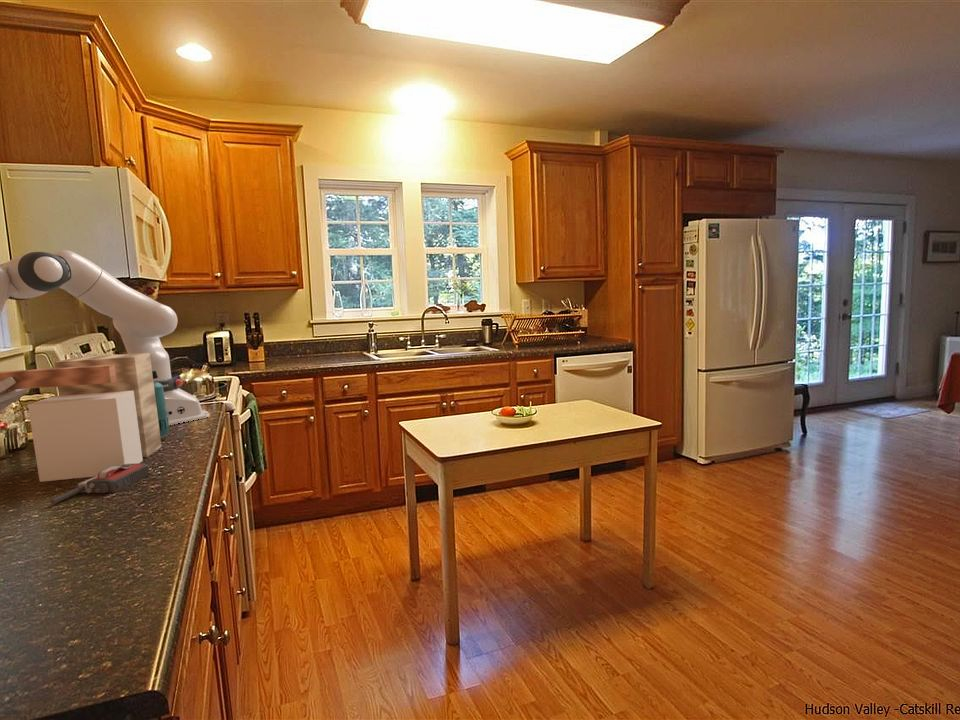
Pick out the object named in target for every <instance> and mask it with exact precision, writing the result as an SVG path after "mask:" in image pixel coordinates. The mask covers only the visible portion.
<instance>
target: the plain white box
mask: <svg viewBox="0 0 960 720" xmlns="http://www.w3.org/2000/svg"><path fill="white" fill-rule="evenodd" d="M27 409H28V417H29V422H30V428H31V433H32V441H33V447H34V453H35V460H36V465H37V466H36V467H37V472H38V478H39V483H40V482H41V483H42V482H52V481H53V482H54V481H61V480H70V479H71V480H72V479H73V478H74V479H82V478H83V479H84V478H93V477H96V476H98V473H99V472H100V471H103V470H106V469H107V468H109V467H112V466H122V465H121V464H135V463H142V462H143V459H144V458H142V451H141V443H140V435H139V428H138V420H137V412H136V405H135V397H134V391H120V392H107V393H93V394H79V395H66V396H59V395H55V396H53V395H52V396H50V397H47V398H44V399H40V400H37V401H34V402H32V403H28V404H27Z"/></svg>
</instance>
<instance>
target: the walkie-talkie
mask: <svg viewBox="0 0 960 720" xmlns="http://www.w3.org/2000/svg"><path fill="white" fill-rule="evenodd" d="M121 465H122V466H112V467H109V468H107V469H106V470H103V471H100V472H99V473H98V476H94V477H90V478H88V479H86V480H84V481H81V482H79V483H77V487H75V488H74V489H71V490H69V491H67V492H65V493H63V494H61V495H58V496H56V497H53V498H51V499H50V501H49V503H50V504H51V505H52V504H57V503H59V502H61V501H64V500H65V499H68V498H70V497H72V496H74V495H76V494H80V493H87V494H98V493H99V494H105V493H107V494H108V493H109V494H110V493H111V492H112V493H113V492H114V493H117V492H119V491H122V490H123V489H125V488H127V487H129V486H131V485H133V484H134V483H137V482H138V481H139V482H140V481H141V480H143V479H144V478H147V477H148V476H149V468H148V467H149V466H148V464H147V463H142V462H140V463H135V464H121ZM132 483H133V484H132ZM112 493H111V494H112Z"/></svg>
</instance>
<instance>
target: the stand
mask: <svg viewBox="0 0 960 720" xmlns="http://www.w3.org/2000/svg"><path fill="white" fill-rule="evenodd" d="M53 364H54V368H66V367H82V366H98V365H115V373H116V381H115V382H112V383H103V384H88V385H73V386H59V387H57V391H58V396H66V395H79V394H93V393H107V392H120V391H134V397H135V405H136V412H137V420H138V428H139V435H140V443H141V451H142V458H143V457H145V458H149V457H150V456H152V454H154V453H155V452H157V451H158V450H159V449H161V448H162V440H161V436H160V430H159V422H158V414H157V406H156V398H155V390H154V382H153V374H152V367H151V359H150V353H137V354H128V353H123V354H108V355H107V354H106V355H93V356H92V355H91V356H76V357H71V358H67V359H63V360H62V359H61V360H58V361H54V362H53ZM143 459H144V458H143Z"/></svg>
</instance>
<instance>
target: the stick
mask: <svg viewBox="0 0 960 720" xmlns="http://www.w3.org/2000/svg"><path fill="white" fill-rule="evenodd" d="M13 376H14V377H16V379H17V380H18V383H17V384H15V385H14V386H11V387H9V388H8V389H6V390H15V389H29V388H30V389H42V388H43V389H45V388H55V387H57V388H58V387H59V386H73V385H88V384H103V383H112V382H115V381H116V373H115V365H98V366H82V367H66V368H55V367H53V368H35V369H21V370H8V371H7V370H6V371H5V370H4V371H0V382H1V381H3V380H5V379H7V378H8V377H13Z"/></svg>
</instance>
